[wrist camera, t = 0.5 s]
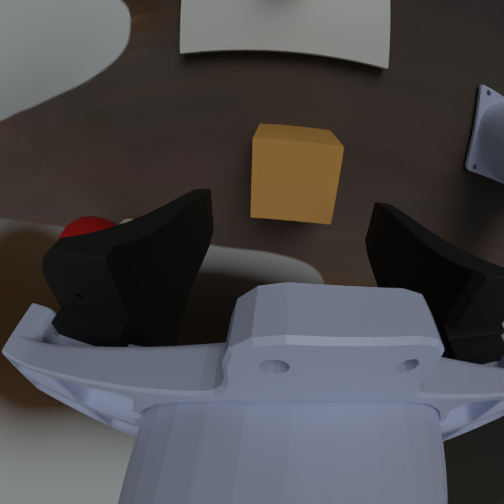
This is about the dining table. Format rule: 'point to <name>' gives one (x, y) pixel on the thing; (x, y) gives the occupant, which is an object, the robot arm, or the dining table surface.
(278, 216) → the tilted mustard cube
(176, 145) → the dining table surface
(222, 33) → the plate
